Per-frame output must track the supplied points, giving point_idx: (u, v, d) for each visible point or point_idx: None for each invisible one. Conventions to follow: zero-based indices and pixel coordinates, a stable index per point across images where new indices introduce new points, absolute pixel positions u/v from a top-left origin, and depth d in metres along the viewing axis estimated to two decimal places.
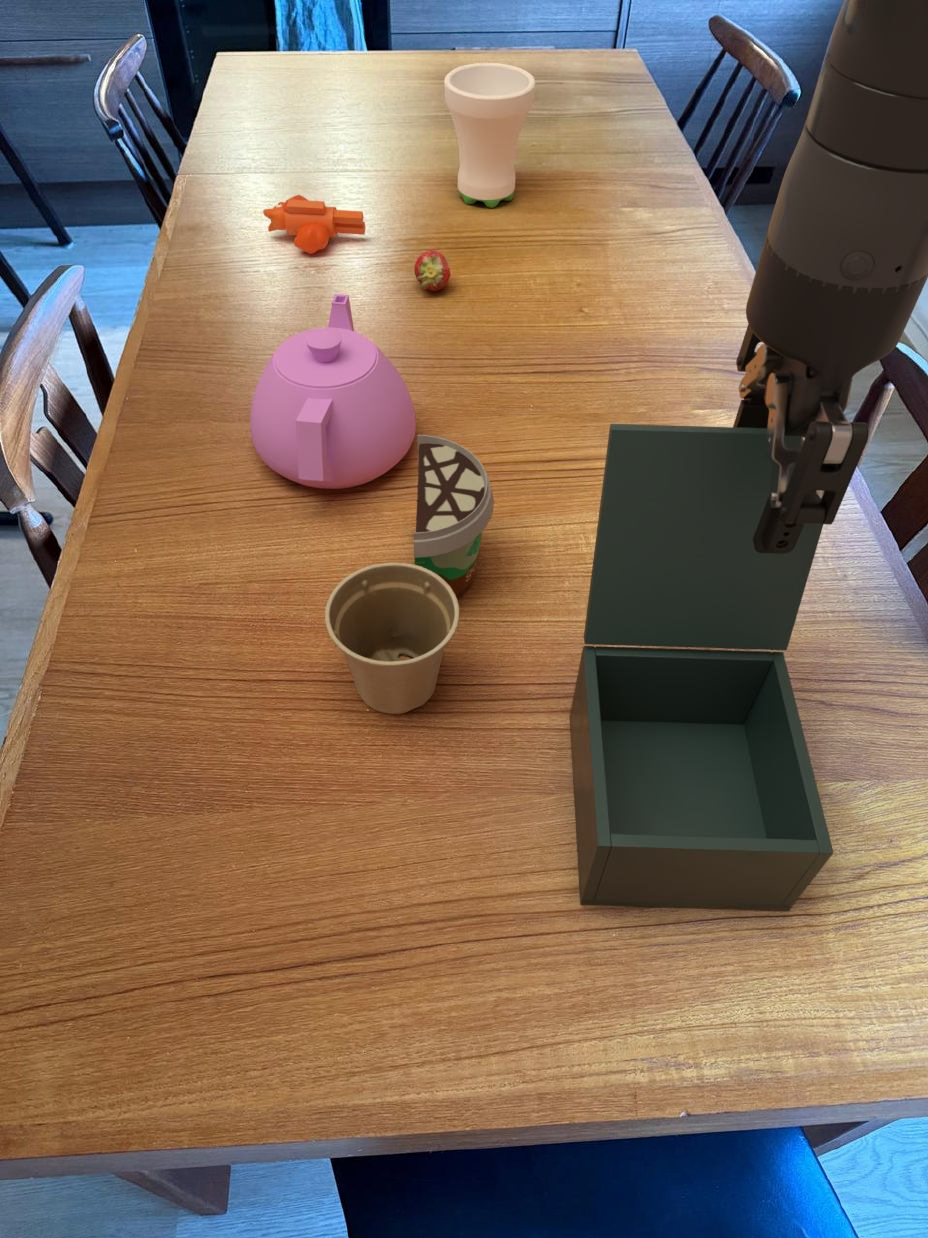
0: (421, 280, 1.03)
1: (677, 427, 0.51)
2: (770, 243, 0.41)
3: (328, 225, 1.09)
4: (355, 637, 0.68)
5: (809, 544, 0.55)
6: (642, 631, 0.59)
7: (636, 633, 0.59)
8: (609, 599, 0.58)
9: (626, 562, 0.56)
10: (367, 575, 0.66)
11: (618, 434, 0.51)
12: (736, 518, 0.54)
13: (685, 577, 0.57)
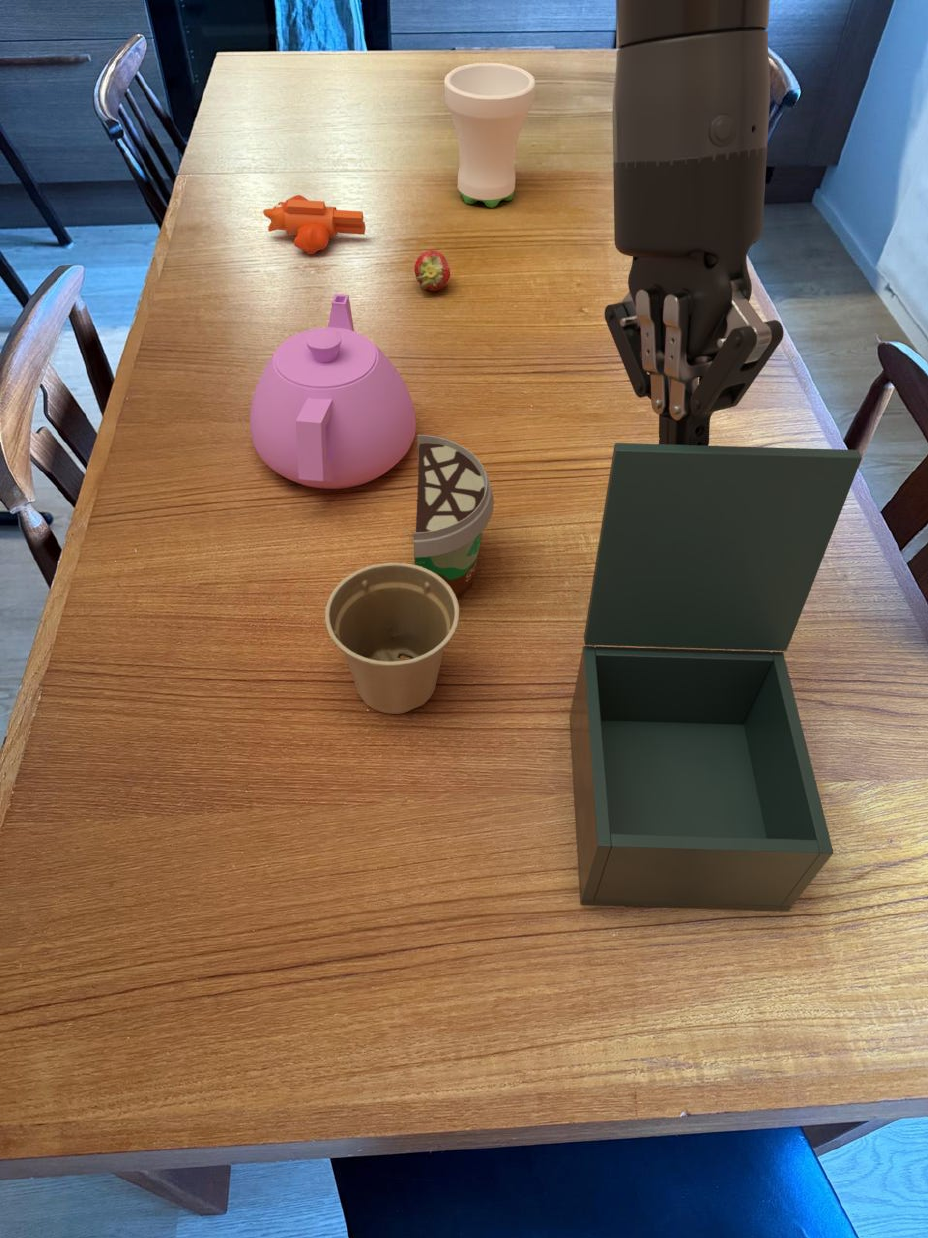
0: (421, 280, 1.03)
1: (683, 447, 0.50)
2: (629, 160, 0.44)
3: (328, 225, 1.09)
4: (355, 637, 0.68)
5: (814, 557, 0.54)
6: (642, 634, 0.59)
7: (636, 635, 0.59)
8: (610, 605, 0.58)
9: (628, 572, 0.56)
10: (367, 575, 0.66)
11: (622, 455, 0.50)
12: (741, 533, 0.53)
13: (687, 586, 0.56)
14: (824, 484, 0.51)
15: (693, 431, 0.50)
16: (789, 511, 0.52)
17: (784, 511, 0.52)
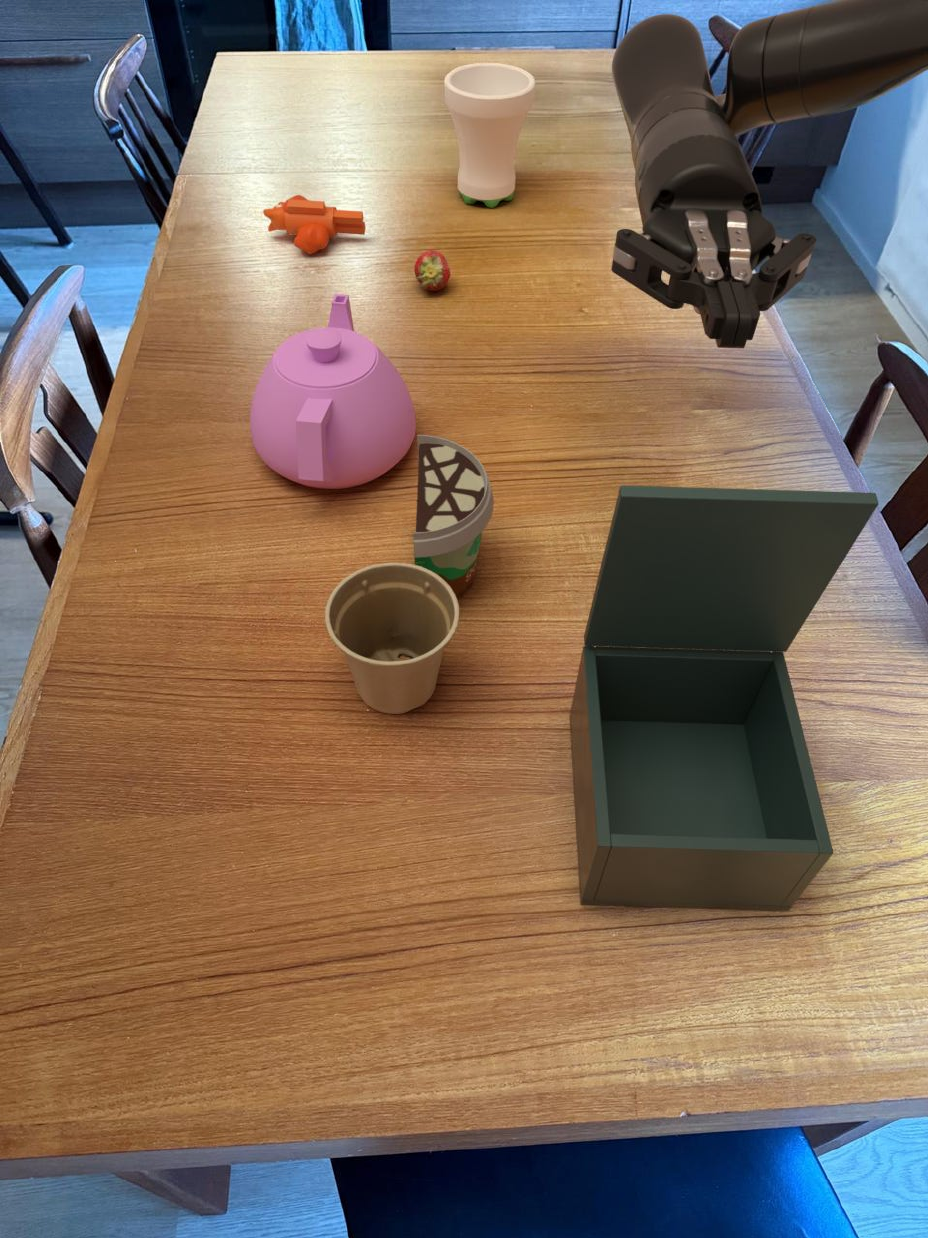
0: (421, 280, 1.03)
1: (692, 491, 0.47)
2: (708, 134, 0.59)
3: (328, 225, 1.09)
4: (355, 637, 0.68)
5: (821, 581, 0.53)
6: (642, 638, 0.59)
7: (636, 639, 0.59)
8: (611, 617, 0.57)
9: (630, 592, 0.55)
10: (367, 575, 0.66)
11: (628, 500, 0.47)
12: (747, 563, 0.52)
13: (690, 603, 0.56)
14: (837, 525, 0.49)
15: None
16: (798, 546, 0.50)
17: (793, 546, 0.50)
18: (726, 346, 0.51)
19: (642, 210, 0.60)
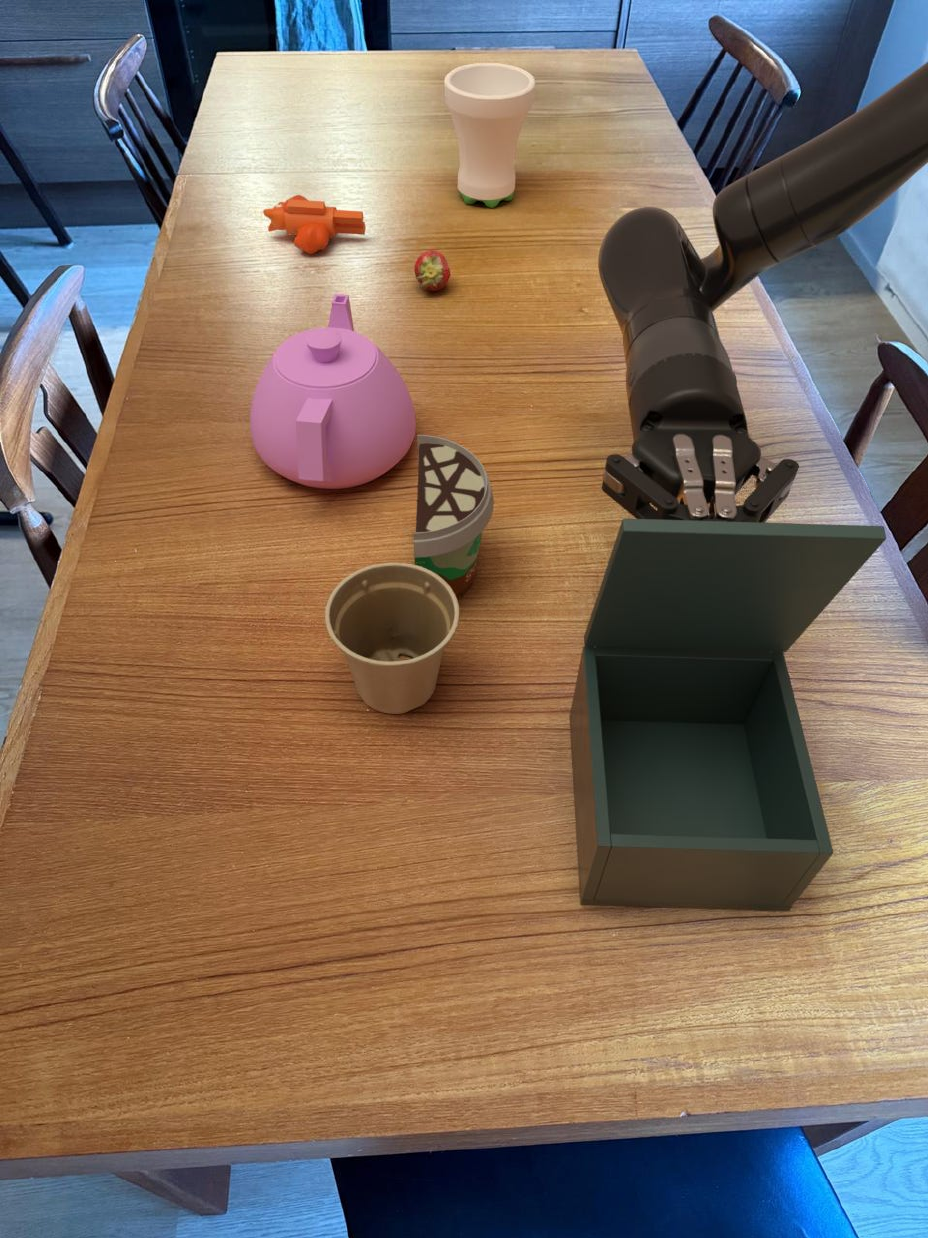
0: (421, 280, 1.03)
1: (696, 525, 0.46)
2: (696, 352, 0.61)
3: (328, 225, 1.09)
4: (355, 637, 0.68)
5: (824, 599, 0.53)
6: (642, 641, 0.59)
7: (636, 642, 0.59)
8: (611, 624, 0.57)
9: (630, 605, 0.54)
10: (367, 575, 0.66)
11: (630, 534, 0.46)
12: (750, 584, 0.51)
13: (690, 614, 0.55)
14: (842, 555, 0.48)
15: None
16: (802, 571, 0.50)
17: (797, 571, 0.50)
18: None
19: (632, 421, 0.62)
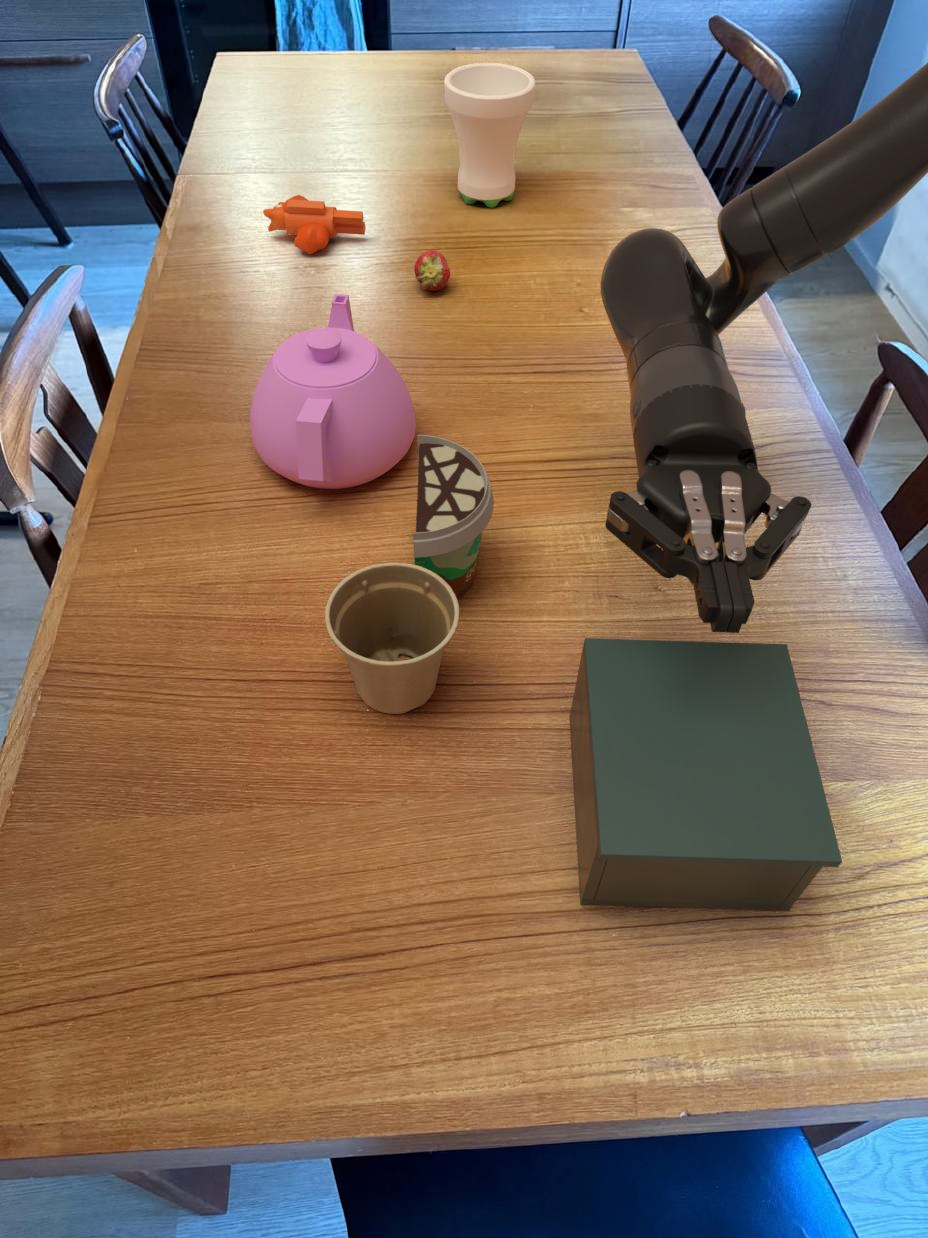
0: (421, 280, 1.03)
1: (667, 859, 0.51)
2: (703, 384, 0.58)
3: (328, 225, 1.09)
4: (355, 637, 0.68)
5: None
6: None
7: None
8: None
9: None
10: (367, 575, 0.66)
11: None
12: None
13: None
14: None
15: None
16: None
17: None
18: None
19: (637, 454, 0.60)
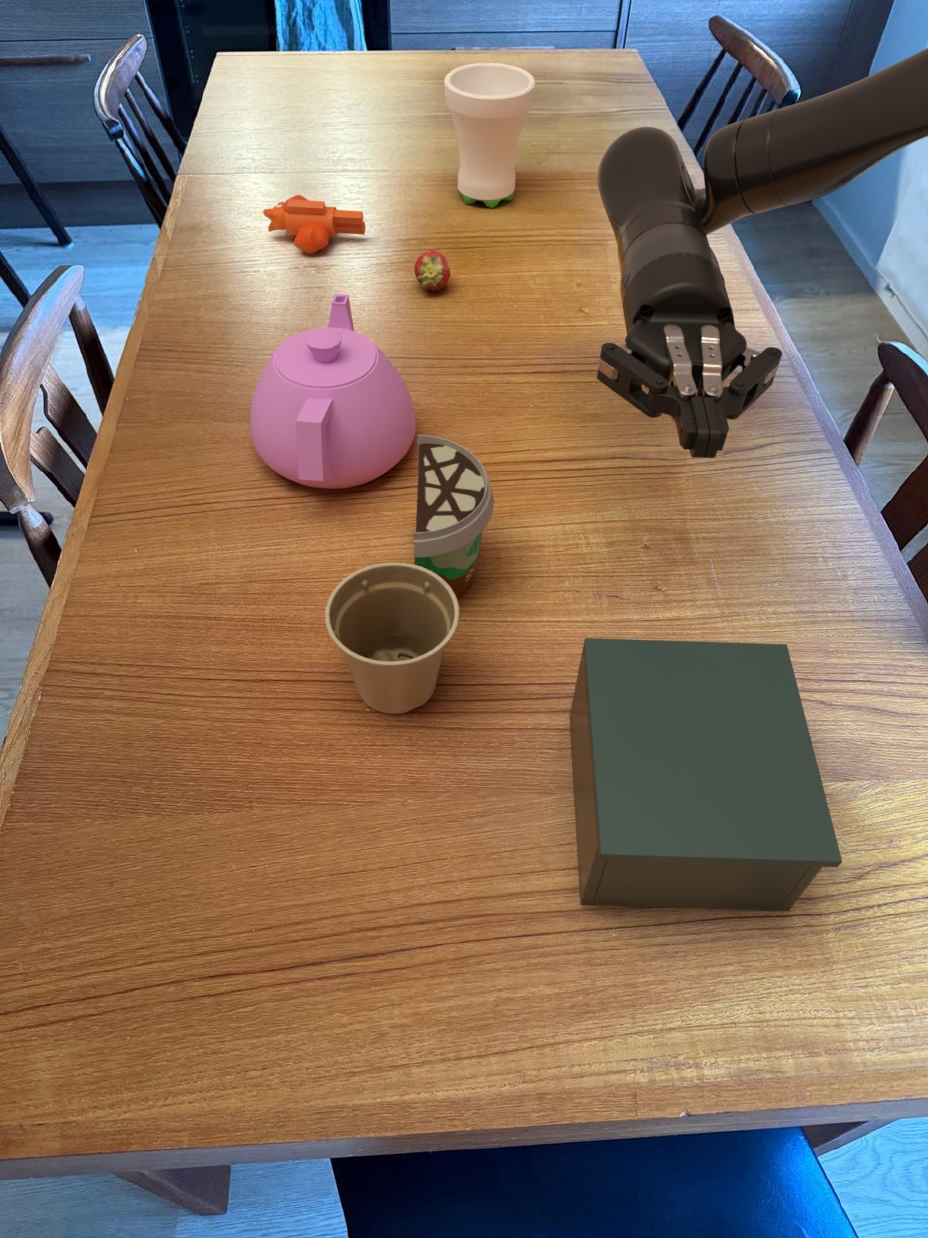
0: (421, 280, 1.03)
1: (667, 859, 0.51)
2: (686, 252, 0.64)
3: (328, 225, 1.09)
4: (355, 637, 0.68)
5: None
6: None
7: None
8: None
9: None
10: (367, 575, 0.66)
11: None
12: None
13: None
14: None
15: None
16: None
17: None
18: (698, 456, 0.57)
19: (626, 318, 0.66)
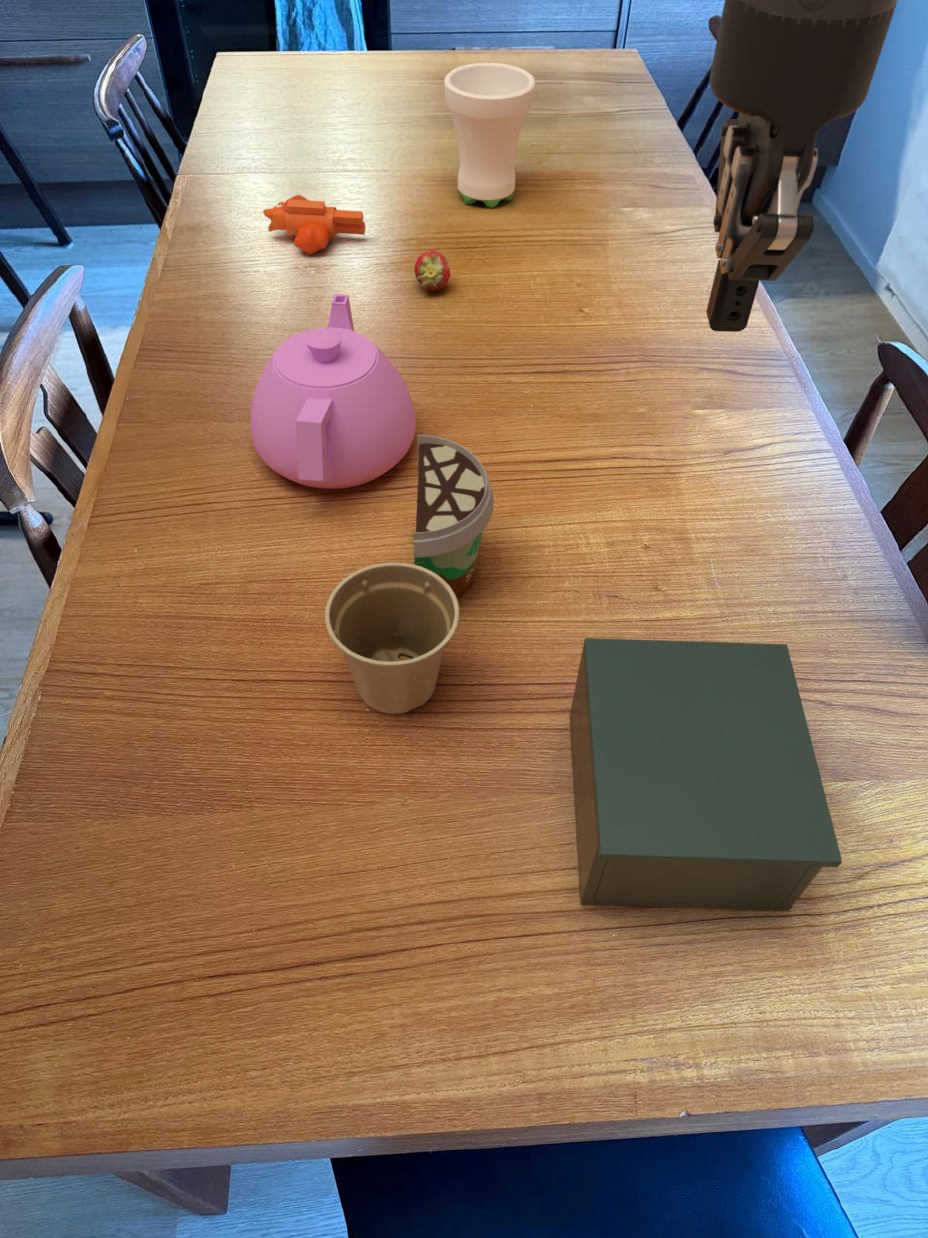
0: (421, 280, 1.03)
1: (667, 859, 0.51)
2: None
3: (328, 225, 1.09)
4: (355, 637, 0.68)
5: None
6: None
7: None
8: None
9: None
10: (367, 575, 0.66)
11: None
12: None
13: None
14: None
15: (733, 289, 0.51)
16: None
17: None
18: None
19: None
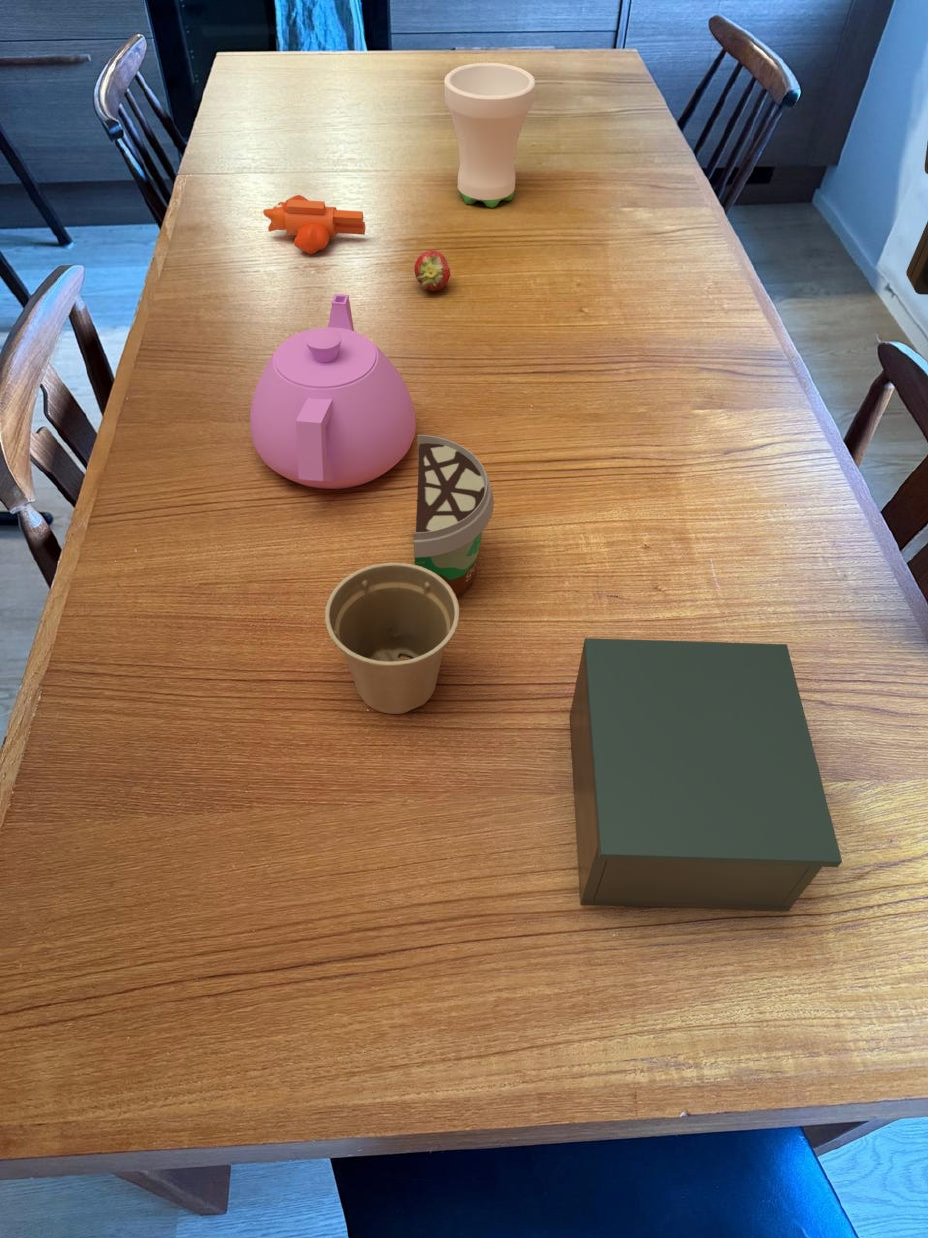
0: (421, 280, 1.03)
1: (667, 859, 0.51)
2: None
3: (328, 225, 1.09)
4: (355, 637, 0.68)
5: None
6: None
7: None
8: None
9: None
10: (367, 575, 0.66)
11: None
12: None
13: None
14: None
15: None
16: None
17: None
18: None
19: None
